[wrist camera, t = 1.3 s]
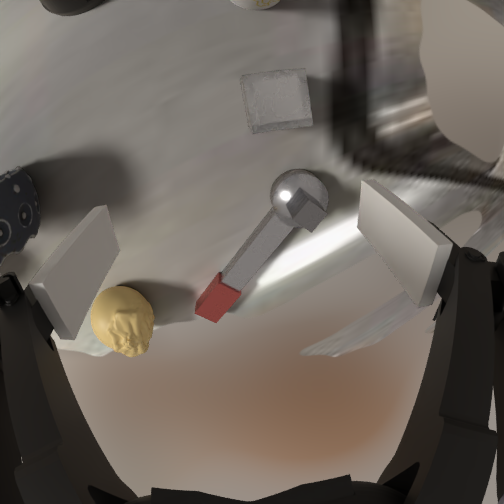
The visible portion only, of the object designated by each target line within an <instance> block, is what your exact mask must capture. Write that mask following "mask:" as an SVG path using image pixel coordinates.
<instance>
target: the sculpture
mask: <svg viewBox="0 0 504 504" xmlns="http://www.w3.org/2000/svg"><path fill="white" fill-rule="evenodd" d="M154 319H155V316H154V315H153V310H152V307H151V305H150V303H149V302H147V301H146V299H145V298H144V297H143V296H142V295H141V294H140V293H139V292H138V291H136V290H134V289H132V288H129V287H124V286H115V287H111V288H108V289H106V290H104V291H103V292H101V293H100V294H99V295H98V296H97V298H96V299H95V301H94V303H93V306H92V310H91V324H92V328H93V331H94V333H95V335H96V336H97V338H98V339H99V340H100V341H101V342H102V343H103V344H105V345H106V346H108V347H110V348H112V349H114V351H115V352H119V353H123V354H124V355H126V356H128V357H135V356H138V355H140V354H143V353H145V352H146V351H147V350H148V347H149V340H150V338H151V337H152V332H153V326H154V322H153V321H154Z"/></svg>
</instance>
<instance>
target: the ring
mask: <svg viewBox="0 0 504 504" xmlns="http://www.w3.org/2000/svg"><path fill="white" fill-rule="evenodd" d="M39 226H40V205H39V200H38V195H37V192H36V189H35V187H34V185H33V183H32V179H31V178H30V176H28V174H27V173H26V172H25V171H24V170H23V169H22V168H21V167H20V166H18V167H17V168H16V169H14V170H12V171H7V172H5V174H2V175H0V266H1V265H2V264H3V261H4V260H5V259H6V258H7V257H8V256H9V255H11V254H18V253H20V252H21V251H22V250H23V249H24V246H25V244H26V243H27V241H28V239H29V238H35V237H36V235H37V233H38V229H39Z"/></svg>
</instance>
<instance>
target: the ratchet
mask: <svg viewBox="0 0 504 504" xmlns="http://www.w3.org/2000/svg"><path fill="white" fill-rule="evenodd" d="M270 199H271V203H272V206H273V207H272V208H271V210H270V211H269V212H268V214H267V215H266V216H265V217H264V219H263V220H262V221H261V222H260V224H259V225H258V226H257V228H256V229H255V230H254V231H253V233H252V234H251V235H250V237H249V238H248V239H247V240H246V242H245V243H244V244H243V245H242V247H241V248H240V249H239V251H238V252H237V253H236V254H235V256H234V257H233V258H232V260H231V261H230V262H229V263H228V265H227V266H226V267H225V269H224V270H223V271H222V272H221V273H220V272H219V273H218V274H217V275H216V277H215V278H214V279H213V281H212V282H211V283H210V284H209V286H208V287H207V288H206V290H205V291H204V292H203V294H202V295H201V296H200V298H199V299H198V300H197V302H196V306H195V314H197V315H199V316H201V317H204V318H206V319H208V320H210V321H213V322H215V323H217V322H218V321H219V319H220V318H221V317H222V316H223V315H224V314H225V313H226V311H227V310H228V309H229V308H230V307H231V306H232V305H233V303H234V302H235V301H236V300H237V299H238V298H239V297H240V295H241V289H242V288H243V287H244V286H245V285H246V283H247V282H248V281H249V280H250V279H251V278H252V276H253V275H254V274H255V273H256V272H257V271H258V269H259V268H260V267H261V266H262V265H263V263H264V262H265V261H266V260H267V259H268V258H269V256H270V255H271V254H272V253H273V252H274V250H275V249H276V248H277V247H278V246H279V244H280V243H281V242H282V241H283V240H284V239H285V237H286V236H287V235H288V234H289V233H290V231H291V230H292V229H293V228H294V227H296V228H301V227H304V228H306V229H307V230H309V231H310V232H311V233H312V232H313V230H314V229H315V228H316V227H317V226H318V225H319V223H320V222H321V221H322V220H323V219H324V217H325V216H326V215H327V212H326V209H327V206H328V199H329V198H328V192H327V190H326V187H325V186H324V184H323V183H322V182H321V181H320V180H319V179H318V178H317V177H316V176H315V175H314V174H312V173H311V172H309V171H307V170H303V169H293V170H289V171H287V172H285V173H283V174H281V175H280V176H279V177H278V178H277V179H276V180H275V182H274V183H273V185H272V188H271V192H270Z"/></svg>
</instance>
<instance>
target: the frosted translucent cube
mask: <svg viewBox="0 0 504 504" xmlns="http://www.w3.org/2000/svg"><path fill="white" fill-rule="evenodd" d="M240 85H241V90H242V96H243V101H244V106H245V112H246V117H247V123H248V127H249V128H250V130H251V132H252V133H253V134H257V133H263V132H269V131H276V130H283V129H291V128H299V127H308V126H313V120H312V112H311V104H310V97H309V90H308V84H307V77H306V71H305V68H301V69H288V70H278V71H269V72H261V73H254V74H247V75H242V77H241V79H240Z"/></svg>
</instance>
